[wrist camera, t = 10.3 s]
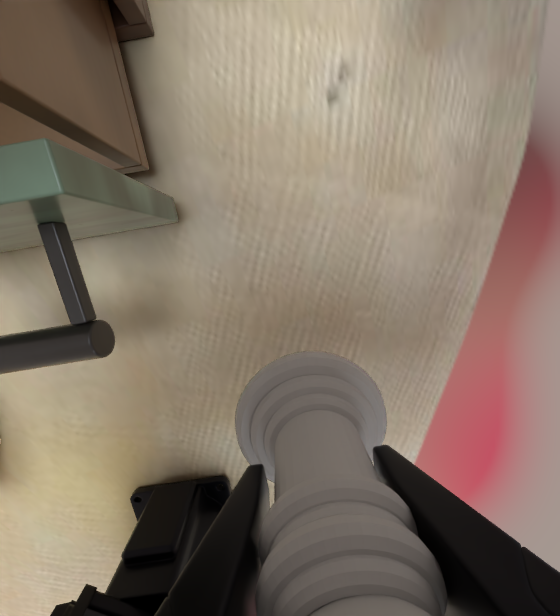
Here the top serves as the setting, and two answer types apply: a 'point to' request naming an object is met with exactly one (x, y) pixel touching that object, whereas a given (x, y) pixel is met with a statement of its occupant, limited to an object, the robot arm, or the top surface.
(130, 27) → the cabinet
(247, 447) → the chess piece
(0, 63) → the drawer
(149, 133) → the top surface
